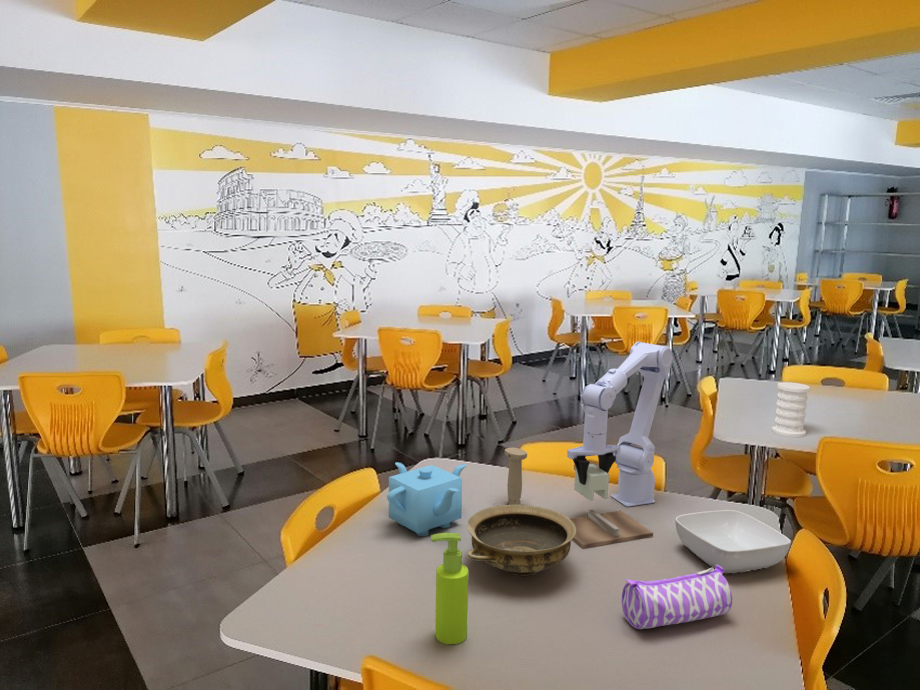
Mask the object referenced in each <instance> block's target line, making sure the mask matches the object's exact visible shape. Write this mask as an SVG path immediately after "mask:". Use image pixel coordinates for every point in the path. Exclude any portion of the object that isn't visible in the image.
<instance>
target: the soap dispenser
mask: <svg viewBox="0 0 920 690" xmlns="http://www.w3.org/2000/svg"><path fill="white" fill-rule="evenodd" d="M430 541H432V542H433V543H435V542H440V541H441V542H443V541H447V545H448V546H447V548H446V549H445V550H444V551H443V553H442V554H443V555H442V556H443V557H442V558H443V559H442V564H439V566H437V568H436V570H435V572H436V573H435V629H434V630H435V632H434V635H435V636H436V637H435V639H436V638H437V639H438V640H439V641H440V643H441V642H442V643H441V644H444V645H448V644H455V645H459V644H461V642H462V643H463V642H464V641H466V639H467V637H468V634H467V633H468V611H469V610H468V605H469V604H468V602H469V601H468V599H469V568H468V567H467V566H466V565H464V564H463V552H462V550H461V549H459V548H458V543H459V542H461V541H462V537H461V533H459V532H439V533H434V534H431V535H430ZM437 639H436V640H437ZM438 640H437V641H438ZM439 641H438V642H439ZM458 643H459V644H458Z"/></svg>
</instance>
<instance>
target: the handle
mask: <svg viewBox="0 0 920 690" xmlns="http://www.w3.org/2000/svg"><path fill="white" fill-rule="evenodd" d="M504 455H505V456H506V458H508V459H509V461H508V463H509V464H508V473H507V487H506V488H507V490H506V491H507V502H508V505H521V498H522V490H523V475H522V474H523V469H522V467H523V466H522V465H523V460H525V459H527V457H528V452H527V451H526V450H524V449H521V448H517V447H508V448H505V449H504Z"/></svg>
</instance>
